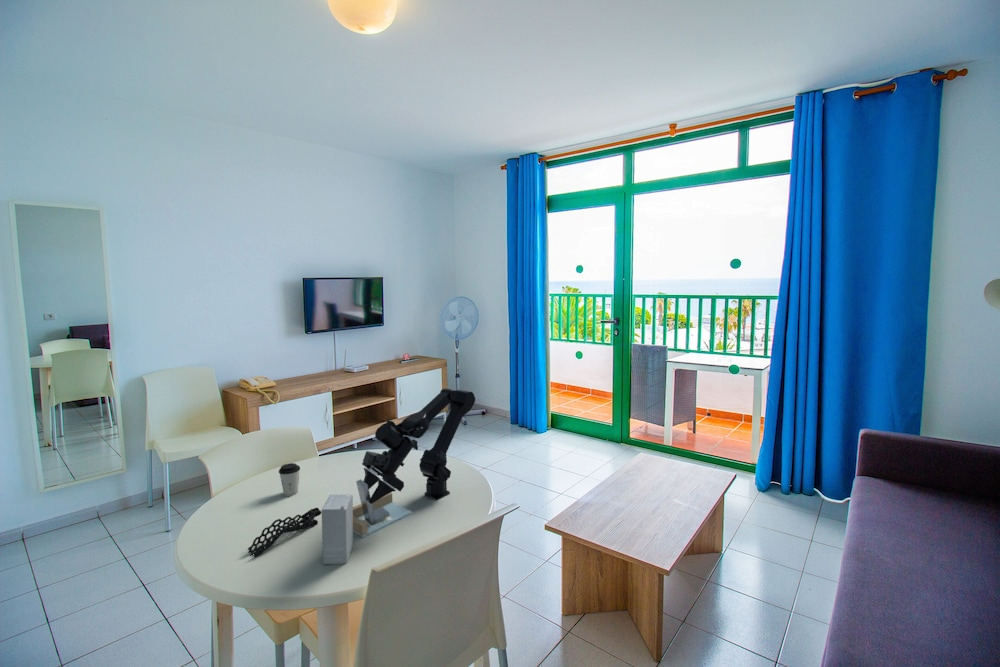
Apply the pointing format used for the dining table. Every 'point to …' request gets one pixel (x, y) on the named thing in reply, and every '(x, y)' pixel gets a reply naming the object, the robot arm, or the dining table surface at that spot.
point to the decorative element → (284, 530)
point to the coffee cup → (290, 478)
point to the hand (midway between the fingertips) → (365, 498)
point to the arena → (395, 514)
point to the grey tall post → (370, 505)
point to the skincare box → (337, 529)
